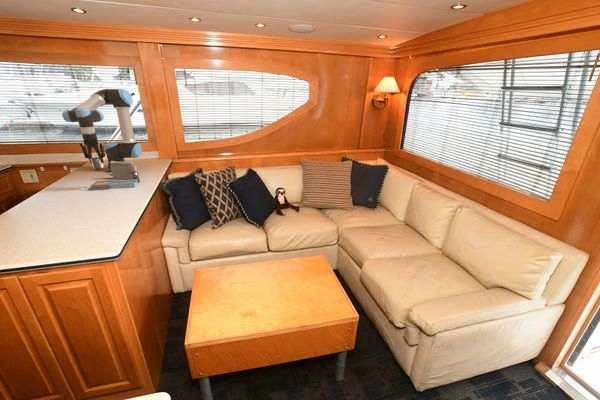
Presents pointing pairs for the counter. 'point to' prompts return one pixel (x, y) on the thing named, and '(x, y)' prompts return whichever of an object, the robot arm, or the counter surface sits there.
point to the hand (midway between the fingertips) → (98, 167)
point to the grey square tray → (101, 187)
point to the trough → (123, 184)
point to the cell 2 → (135, 175)
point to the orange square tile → (101, 183)
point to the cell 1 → (96, 163)
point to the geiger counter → (122, 170)
